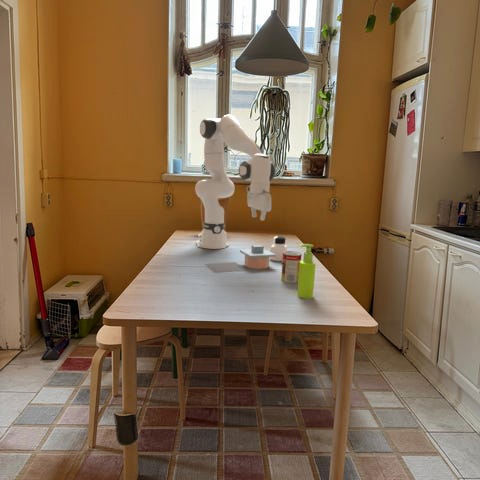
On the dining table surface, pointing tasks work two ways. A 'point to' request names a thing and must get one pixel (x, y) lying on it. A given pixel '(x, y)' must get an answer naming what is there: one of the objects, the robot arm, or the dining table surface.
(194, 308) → the dining table surface
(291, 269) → the canned food
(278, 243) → the medicine bottle
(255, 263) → the bowl
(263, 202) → the robot arm
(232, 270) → the mat
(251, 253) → the lid
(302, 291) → the soap dispenser
